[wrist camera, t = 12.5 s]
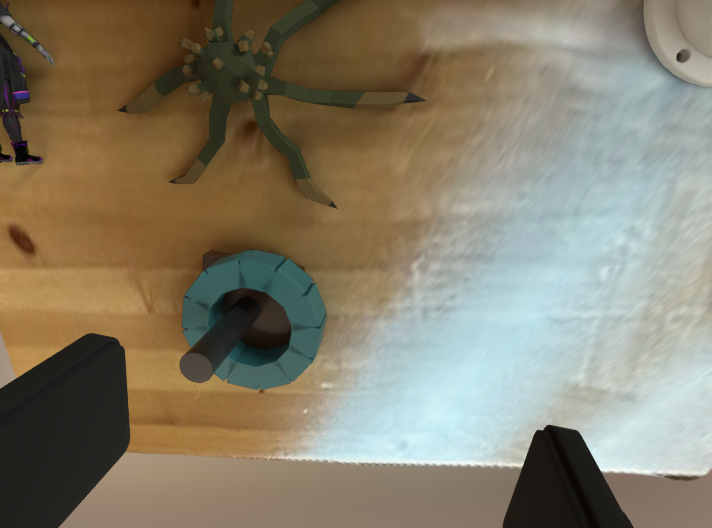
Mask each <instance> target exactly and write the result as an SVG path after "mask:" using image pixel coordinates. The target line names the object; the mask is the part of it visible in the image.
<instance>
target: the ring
mask: <svg viewBox="0 0 712 528" xmlns="http://www.w3.org/2000/svg"><path fill="white" fill-rule="evenodd" d="M284 260H285V256H281V255H276V254H272V253H267V252H263V251H258V250H254V249H253V250H252V251H250V250H246V251H243V252H240V253H237V254H234V255H230V256H227V257H224V258H221V259H220V260H218V261H217V262H215V263H214V264H212V265H211V266H209V267H208V268H207V269H205V270H204V271H202V273H201V274H200V275H199V277H198V278H197V279H196V280H195V282H194V283H193V284H192V285H191V287H190V288H189V289H188V291H187V292H186V293H185V295H186V296H185V297H184V299H183V315H182V327H183V328H185V329H184V330H183V333H184V335H185V337H186V339H187V341H188V343H189V345H190V347H192V346H193V345H194V344H195V343H196V342H197V341H198V340H199V339H200V338H201V337H202V336H203V335H204V334H205V333H206V332H207V331H208V330H209V329H210V328H211V327H212V326H213V325H214V324H215V323H216V322H217V321H218V320H219V319H220V318H221V317H222V316H223V315H222V313H223V303H224V296H225V294H226V293H227V292H229V291H232V290H235V289H239V288H242V287H245V288H249V289H253V290H258V291H262V292H266V293H267V294H268V295H270V296H271V297H272V298H273V299H274V300H276V301H277V302H278V303H279V304H280V305H282V306H283V307H284V309H285V311H286V314H287V316H288V319H289V321H290V323H291V326H292V331H291V338H290V340H289V341H288V342H287V343H286V344H285V345H283V346H279V347H275V348H272V349H268V350H265V349H260V348H256V347H252V346H247V345H246V344H245V343H243V342H242V341H241V340H240V341H239V342H238V344H237V345H236V346H235V347H234V349H233V350H232V351H231V352H230V354H229V355H228V356H227V358H226V359H225V360H224V361H223V363H222V364H221V365H220V366H219V368H218V369H217V370H216V371H215V373H214V374H215V375H216V376H218V377H219V378H220V379H222V380H223V381H225V380H226V379H227V377H228V380H227V383H230V384H234V385H238V386H243V387H247V388H251V389H255V390H258V389H259V387H260V389H261V390H264V389H269V388H273V387H277V386H281V385H285V384H289V383H291V381H294V380H295V379H296V378H297V377H298V376H299V375H300V374H301V373H302V372H303V371H304V370H305V369H306V368H307V367H308V366H309V365H310V364H311V363H312V362H313V361H314V358H315V357H316V355H317V352H318V350H319V347H320V345H321V342H322V338H323V332H324V327H325V322H326V317H327V314H325V313H326V308H325V306H324V303H323V301H322V298H321V295H320V293H319V290H318V288H317V285H316V283H311V282H312V281H313V279H312V278H311V277H310V276H309V275H308V274H306V273H305V272H304V271H303V270H302V269H301V268H299V267H298V266H297V265H296V264H295V263H293V262H292V261H291V260H290V259H289V258H288V259H287V260H286V261H285V262H284Z"/></svg>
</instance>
